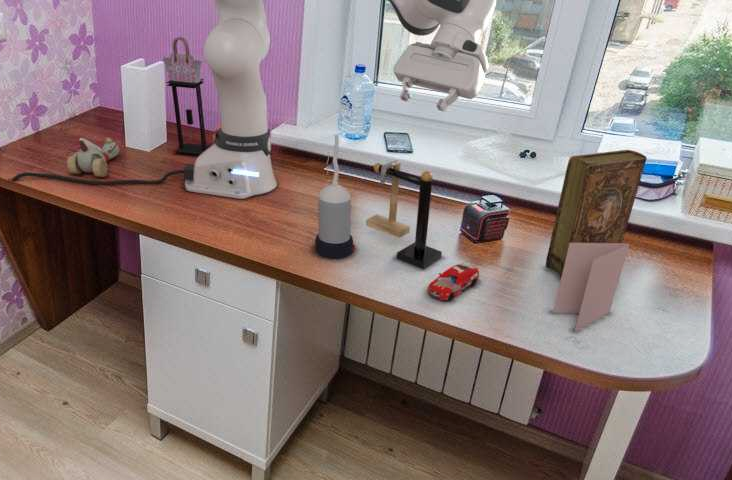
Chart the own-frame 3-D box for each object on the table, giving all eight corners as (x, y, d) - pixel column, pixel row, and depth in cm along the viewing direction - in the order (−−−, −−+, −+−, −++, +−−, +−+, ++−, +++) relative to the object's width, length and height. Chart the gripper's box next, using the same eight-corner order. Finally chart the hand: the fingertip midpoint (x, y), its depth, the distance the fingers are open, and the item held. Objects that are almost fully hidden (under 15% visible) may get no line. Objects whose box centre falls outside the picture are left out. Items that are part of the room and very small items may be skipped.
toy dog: (123, 154, 176) (118, 121, 171) (122, 179, 162) (116, 144, 157) (74, 155, 172) (67, 122, 167) (68, 181, 158) (60, 146, 153)
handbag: (215, 148, 185) (205, 36, 168) (206, 157, 179) (194, 41, 162) (180, 144, 186) (166, 32, 169) (169, 153, 179) (153, 37, 163)
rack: (380, 234, 147) (385, 151, 136) (441, 257, 139) (451, 171, 129) (361, 244, 142) (364, 159, 131) (423, 269, 134) (432, 180, 124)
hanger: (377, 219, 144) (382, 154, 136) (410, 232, 140) (417, 165, 132) (361, 227, 140) (364, 160, 132) (394, 240, 136) (400, 171, 128)
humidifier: (360, 254, 138) (364, 139, 124) (324, 261, 134) (325, 144, 120) (343, 238, 143) (345, 127, 130) (309, 245, 140) (307, 130, 126)
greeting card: (607, 310, 126) (627, 241, 118) (622, 331, 120) (644, 260, 112) (551, 310, 125) (568, 240, 116) (563, 331, 119) (581, 260, 110)
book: (602, 257, 146) (631, 149, 132) (618, 268, 142) (651, 158, 128) (544, 268, 139) (568, 156, 125) (560, 281, 135) (587, 166, 121)
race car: (443, 306, 123) (446, 288, 121) (422, 295, 126) (423, 277, 124) (483, 282, 132) (485, 265, 130) (461, 272, 135) (463, 255, 132)
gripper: (406, 31, 139) (376, 84, 138) (488, 48, 130) (457, 106, 129) (416, 50, 145) (387, 102, 143) (495, 68, 136) (466, 123, 134)
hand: (421, 104), depth 136 cm, fingers open, 8 cm apart
